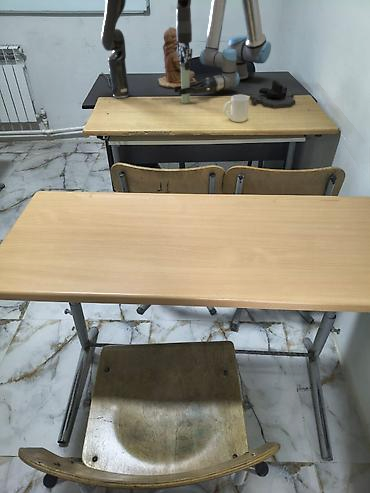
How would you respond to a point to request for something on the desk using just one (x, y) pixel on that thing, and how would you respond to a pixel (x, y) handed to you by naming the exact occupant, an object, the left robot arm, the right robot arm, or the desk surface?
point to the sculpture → (172, 61)
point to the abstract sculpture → (273, 96)
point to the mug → (238, 108)
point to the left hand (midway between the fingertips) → (184, 68)
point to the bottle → (185, 84)
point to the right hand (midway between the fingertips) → (176, 91)
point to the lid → (183, 64)
